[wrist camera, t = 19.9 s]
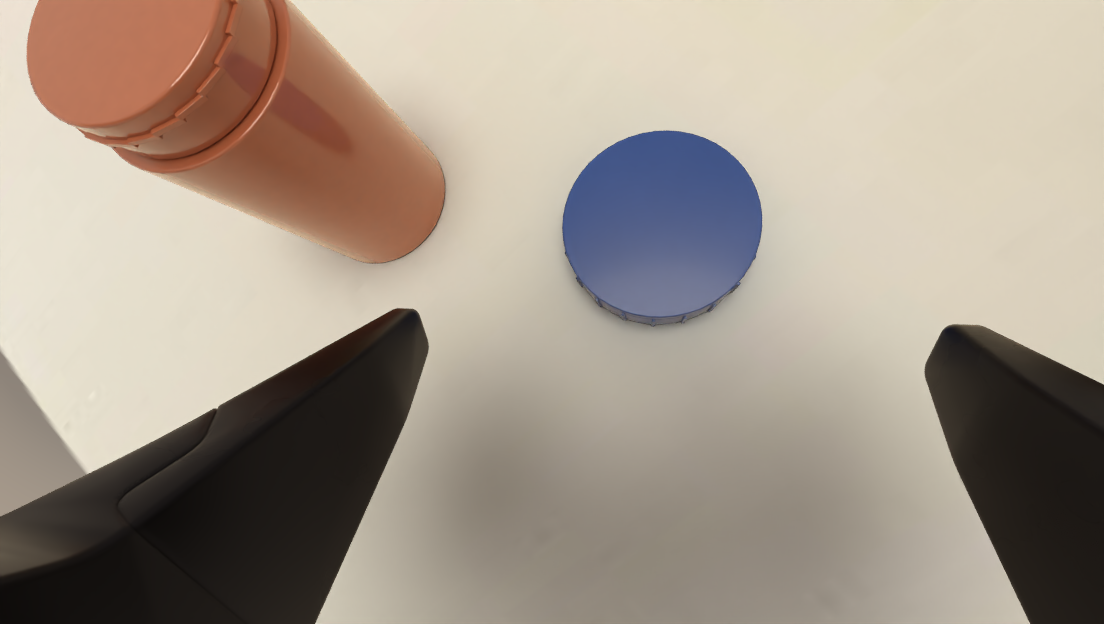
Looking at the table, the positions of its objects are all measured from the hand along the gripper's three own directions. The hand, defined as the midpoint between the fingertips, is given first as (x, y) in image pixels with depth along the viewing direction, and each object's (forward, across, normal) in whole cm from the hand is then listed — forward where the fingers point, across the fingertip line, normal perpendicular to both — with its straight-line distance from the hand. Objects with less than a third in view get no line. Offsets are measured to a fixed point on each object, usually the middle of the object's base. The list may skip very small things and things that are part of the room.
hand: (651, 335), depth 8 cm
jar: (+11, +12, +2) cm, 16 cm away
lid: (+9, 0, +2) cm, 9 cm away
